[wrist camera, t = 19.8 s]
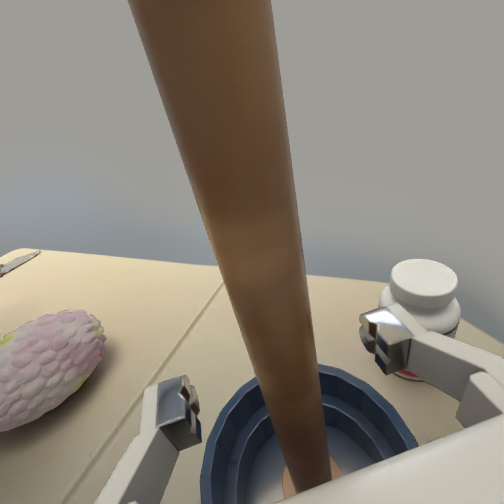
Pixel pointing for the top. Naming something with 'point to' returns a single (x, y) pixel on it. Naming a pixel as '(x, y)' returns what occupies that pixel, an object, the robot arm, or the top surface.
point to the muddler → (246, 200)
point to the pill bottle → (424, 297)
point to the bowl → (268, 449)
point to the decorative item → (46, 364)
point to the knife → (16, 263)
